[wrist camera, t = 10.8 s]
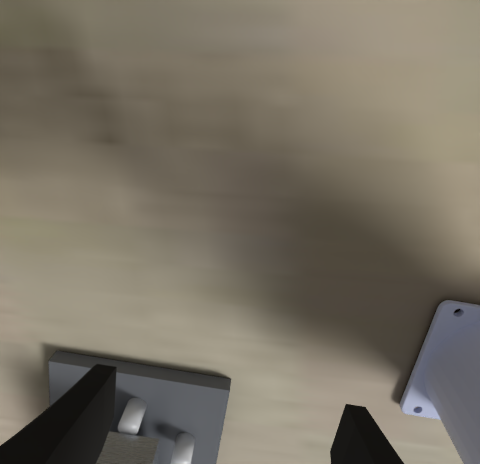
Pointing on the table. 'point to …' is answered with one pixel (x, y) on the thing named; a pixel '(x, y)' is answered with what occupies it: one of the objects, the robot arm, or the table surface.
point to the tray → (156, 405)
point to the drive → (129, 449)
